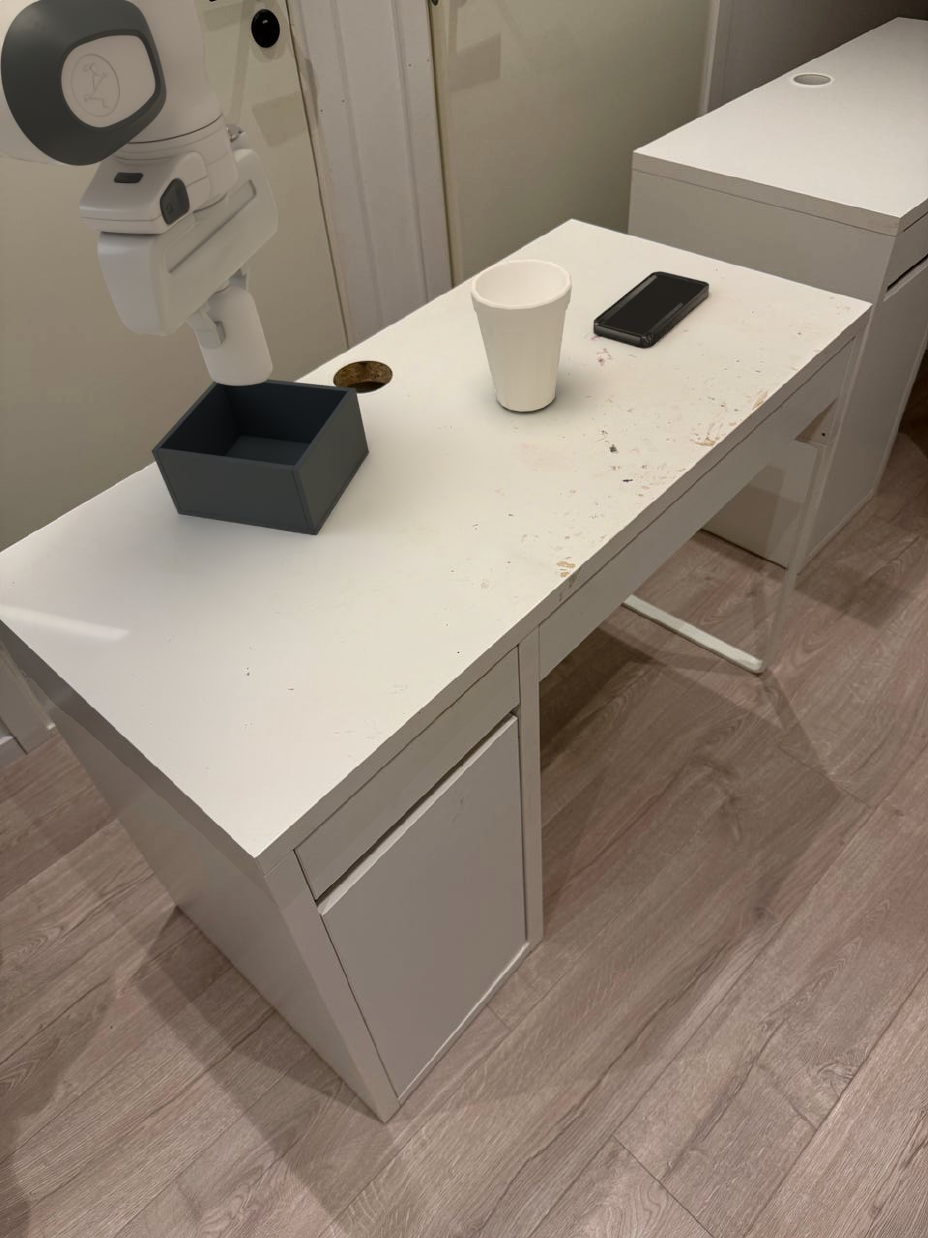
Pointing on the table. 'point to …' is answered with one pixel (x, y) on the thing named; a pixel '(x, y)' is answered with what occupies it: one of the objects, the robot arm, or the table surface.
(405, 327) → the table surface
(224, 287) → the eye dropper bottle
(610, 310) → the phone
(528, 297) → the cup
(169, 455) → the bin
